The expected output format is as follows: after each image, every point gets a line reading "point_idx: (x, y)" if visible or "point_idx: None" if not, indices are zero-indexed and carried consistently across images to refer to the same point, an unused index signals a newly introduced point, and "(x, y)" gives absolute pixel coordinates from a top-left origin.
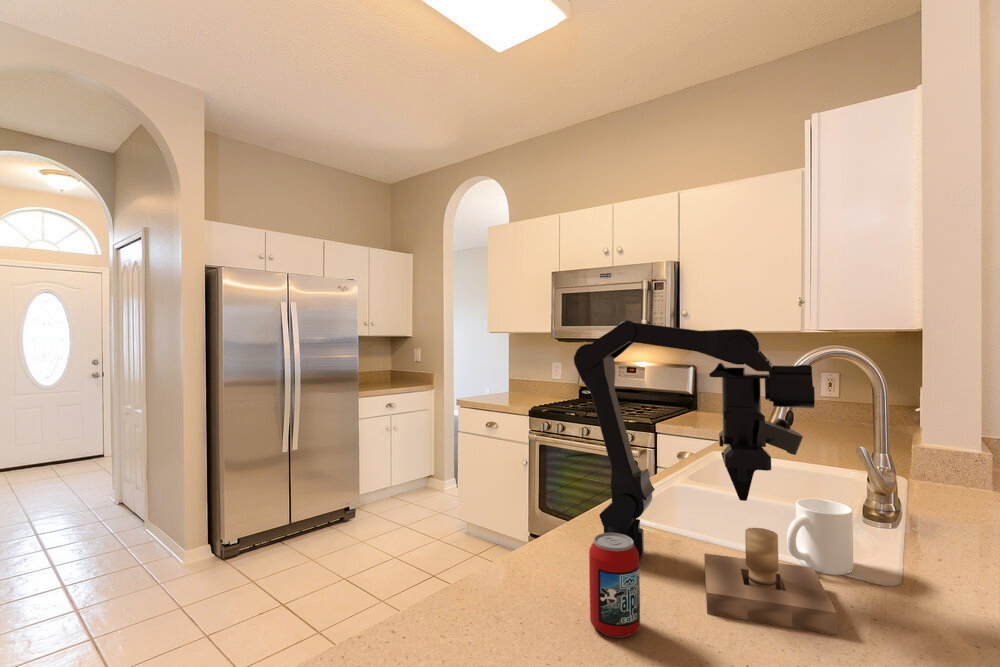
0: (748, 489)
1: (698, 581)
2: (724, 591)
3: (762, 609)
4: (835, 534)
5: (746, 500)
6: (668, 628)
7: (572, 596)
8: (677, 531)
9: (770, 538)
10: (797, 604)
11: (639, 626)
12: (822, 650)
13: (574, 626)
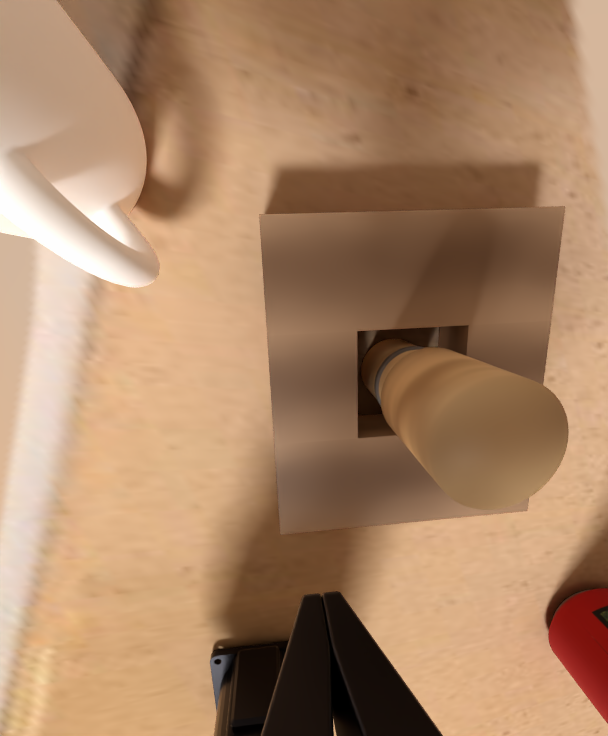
0: (397, 678)
1: None
2: None
3: None
4: (62, 28)
5: (335, 591)
6: (566, 539)
7: (494, 700)
8: (7, 593)
9: (560, 411)
10: (542, 305)
11: (604, 589)
12: (586, 264)
13: None
